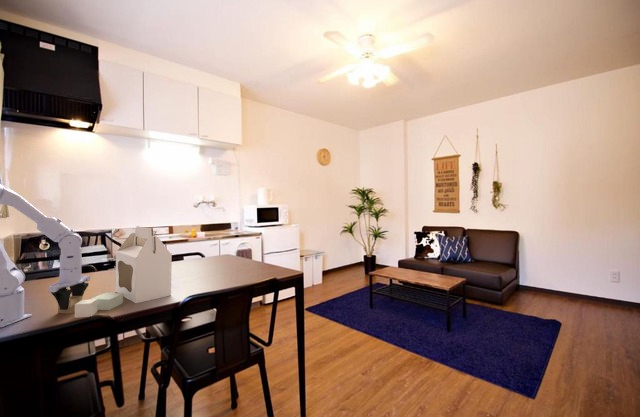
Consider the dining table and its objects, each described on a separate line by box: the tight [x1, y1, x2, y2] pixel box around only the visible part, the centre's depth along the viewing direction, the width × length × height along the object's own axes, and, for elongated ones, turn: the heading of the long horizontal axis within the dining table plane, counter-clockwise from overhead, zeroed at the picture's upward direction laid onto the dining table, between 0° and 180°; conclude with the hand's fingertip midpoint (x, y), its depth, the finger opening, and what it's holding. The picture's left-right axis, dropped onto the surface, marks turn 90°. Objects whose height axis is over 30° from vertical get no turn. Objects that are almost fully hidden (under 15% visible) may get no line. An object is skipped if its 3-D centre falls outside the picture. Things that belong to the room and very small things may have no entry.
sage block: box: [90, 292, 124, 311], centre depth 104 cm, size 7×7×4 cm
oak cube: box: [57, 295, 83, 314], centre depth 99 cm, size 4×4×4 cm
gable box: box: [115, 225, 173, 304], centre depth 119 cm, size 22×13×28 cm, turn 52°
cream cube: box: [74, 298, 98, 319], centre depth 96 cm, size 4×4×4 cm
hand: (70, 306), depth 99 cm, fingers closed on oak cube, 4 cm apart
